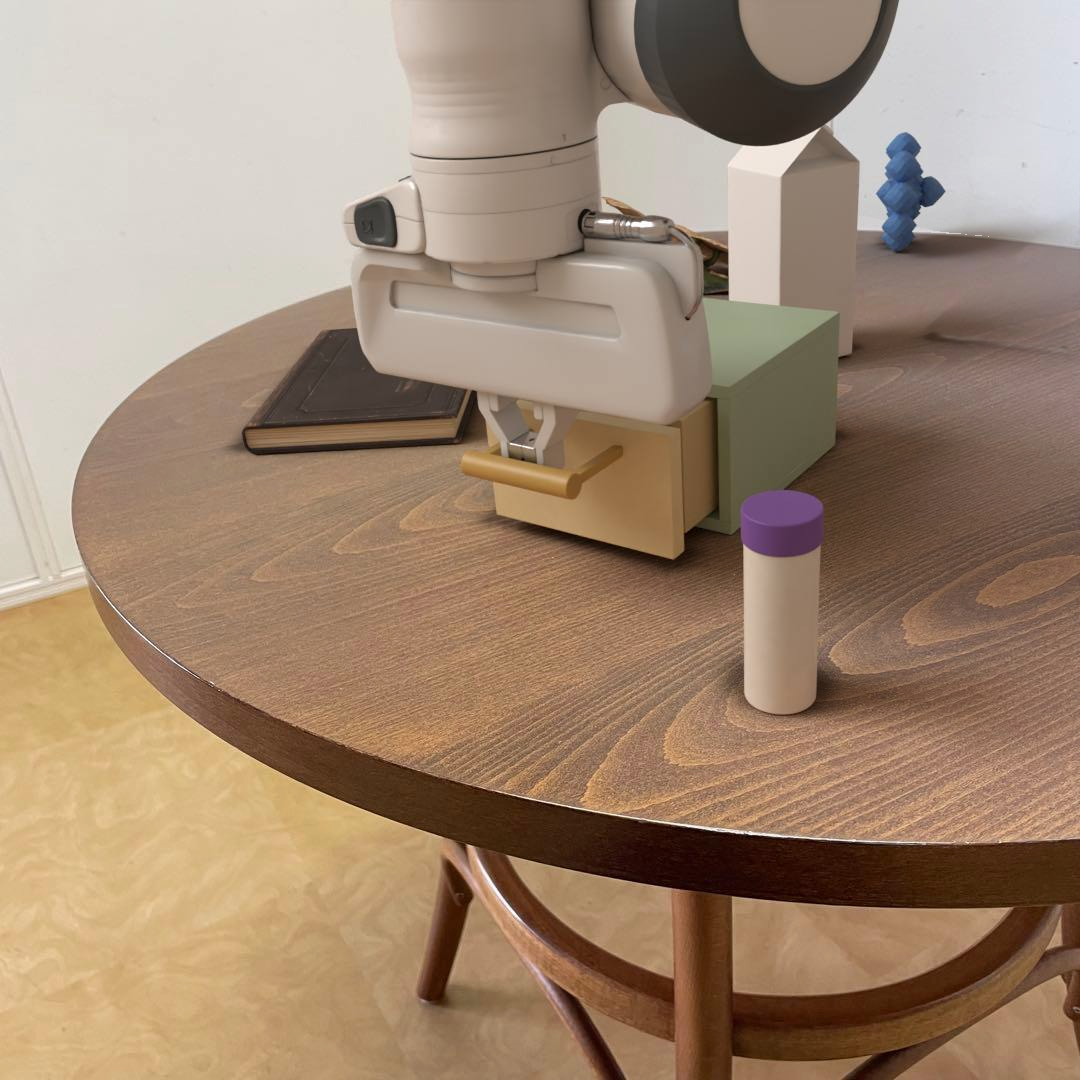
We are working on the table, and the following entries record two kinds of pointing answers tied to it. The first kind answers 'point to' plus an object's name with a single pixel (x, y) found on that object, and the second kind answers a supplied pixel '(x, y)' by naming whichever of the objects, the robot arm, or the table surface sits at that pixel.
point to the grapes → (905, 191)
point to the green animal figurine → (707, 247)
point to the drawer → (613, 479)
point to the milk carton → (795, 226)
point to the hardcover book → (353, 405)
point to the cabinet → (769, 397)
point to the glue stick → (781, 599)
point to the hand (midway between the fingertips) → (534, 470)
